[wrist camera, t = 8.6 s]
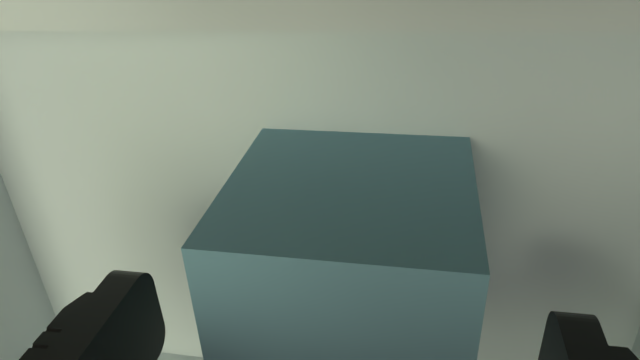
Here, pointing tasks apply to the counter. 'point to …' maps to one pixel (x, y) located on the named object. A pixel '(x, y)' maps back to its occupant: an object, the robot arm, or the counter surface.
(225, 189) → the cube
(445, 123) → the tote
